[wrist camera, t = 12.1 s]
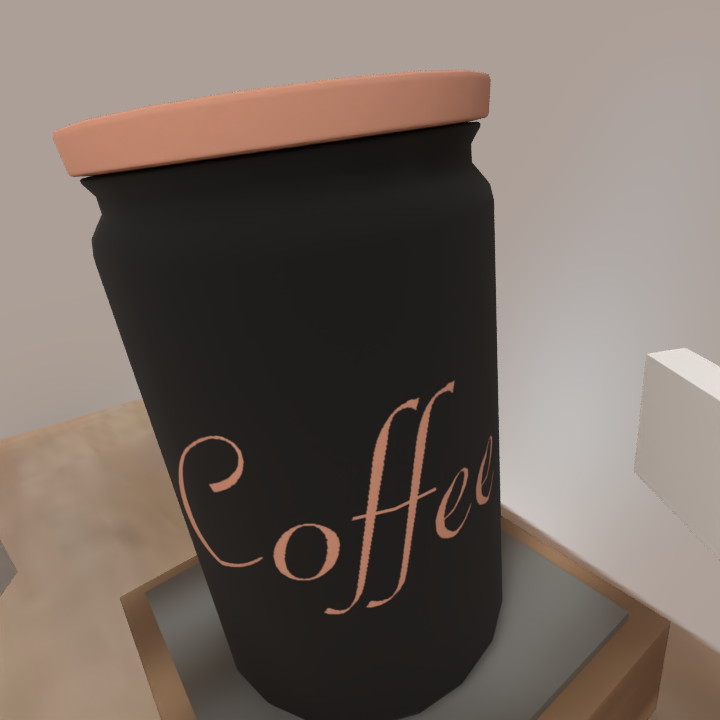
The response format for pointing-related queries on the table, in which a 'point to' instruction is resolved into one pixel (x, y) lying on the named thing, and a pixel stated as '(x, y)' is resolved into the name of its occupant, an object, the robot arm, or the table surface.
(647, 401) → the robot arm
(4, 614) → the table surface
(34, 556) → the table surface
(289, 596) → the coffee jar
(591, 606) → the walnut stand
